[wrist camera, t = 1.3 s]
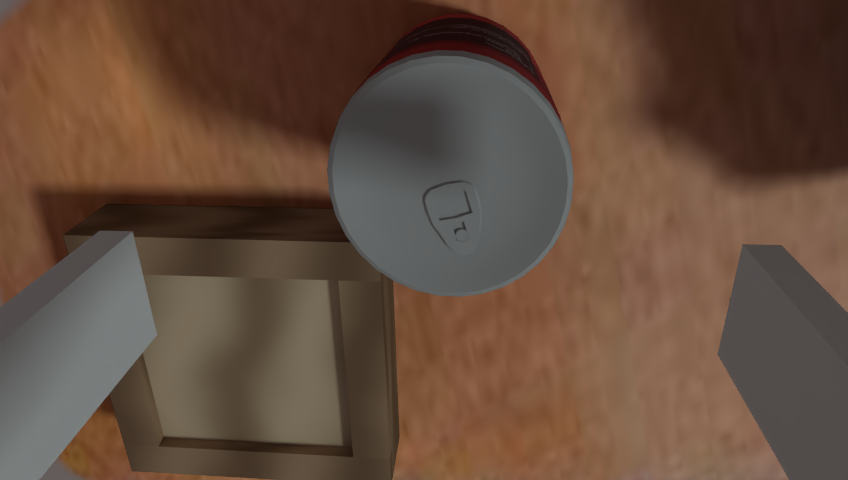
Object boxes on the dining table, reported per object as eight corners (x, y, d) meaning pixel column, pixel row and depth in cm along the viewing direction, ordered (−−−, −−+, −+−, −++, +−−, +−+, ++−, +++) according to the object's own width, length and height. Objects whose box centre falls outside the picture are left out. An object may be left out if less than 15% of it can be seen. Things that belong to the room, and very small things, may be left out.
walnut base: (389, 210, 32) (378, 243, 28) (399, 437, 38) (391, 486, 35) (106, 204, 33) (63, 235, 30) (162, 424, 40) (132, 471, 36)
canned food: (436, 209, 32) (414, 334, 22) (344, 70, 29) (271, 141, 19) (575, 132, 29) (622, 232, 19) (489, -26, 27) (493, -2, 17)
